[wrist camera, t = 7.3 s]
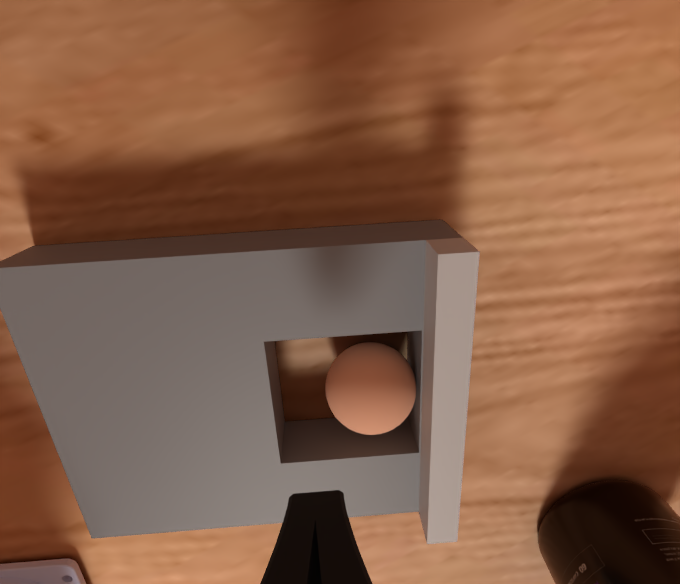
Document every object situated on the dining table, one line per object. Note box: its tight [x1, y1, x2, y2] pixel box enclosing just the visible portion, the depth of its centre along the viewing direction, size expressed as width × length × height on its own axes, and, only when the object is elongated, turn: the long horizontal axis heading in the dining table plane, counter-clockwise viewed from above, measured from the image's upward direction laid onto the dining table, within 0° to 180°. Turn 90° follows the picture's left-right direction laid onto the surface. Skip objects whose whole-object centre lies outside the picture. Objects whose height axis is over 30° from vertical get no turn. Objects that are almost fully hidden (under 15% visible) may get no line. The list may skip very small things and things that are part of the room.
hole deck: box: [0, 220, 480, 544], centre depth 16 cm, size 12×15×4 cm
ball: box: [325, 342, 416, 435], centre depth 17 cm, size 4×4×4 cm
